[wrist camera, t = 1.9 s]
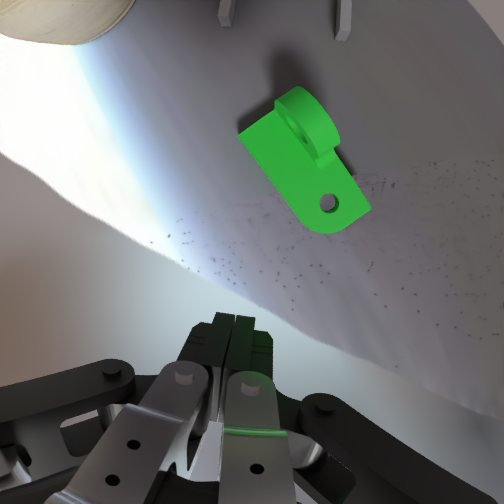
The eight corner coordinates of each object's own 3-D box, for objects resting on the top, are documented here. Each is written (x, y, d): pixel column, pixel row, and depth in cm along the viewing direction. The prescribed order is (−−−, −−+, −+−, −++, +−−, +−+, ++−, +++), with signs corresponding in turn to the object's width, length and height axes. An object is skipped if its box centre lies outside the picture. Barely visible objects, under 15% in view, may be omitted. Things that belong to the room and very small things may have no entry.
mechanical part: (239, 138, 28) (227, 126, 20) (291, 101, 26) (298, 77, 19) (315, 241, 30) (329, 266, 22) (365, 205, 28) (396, 218, 21)
